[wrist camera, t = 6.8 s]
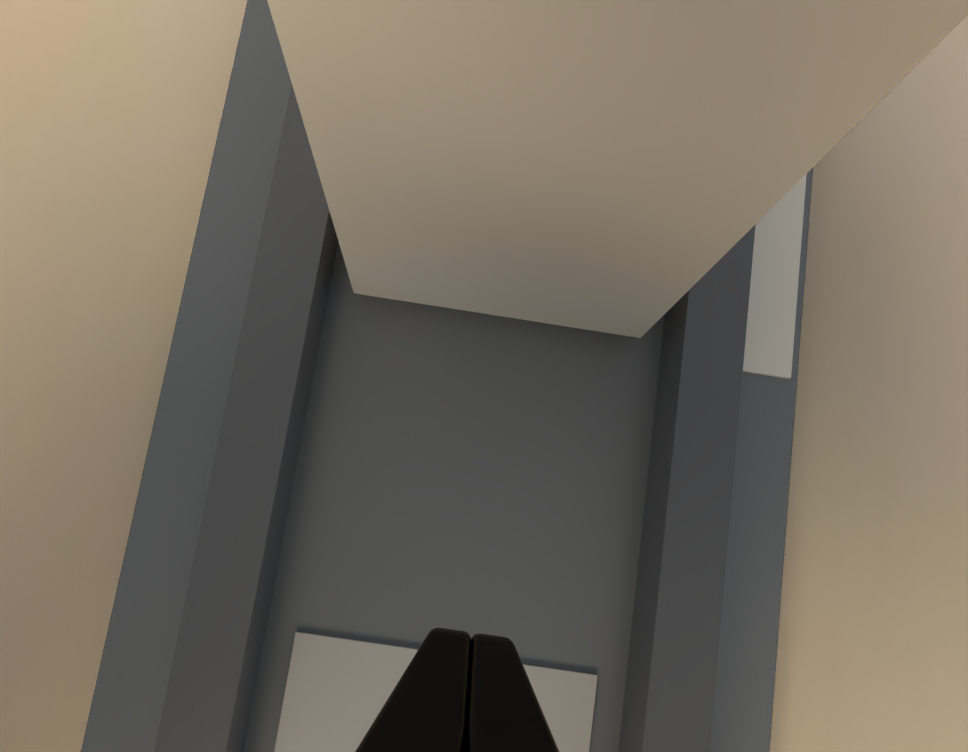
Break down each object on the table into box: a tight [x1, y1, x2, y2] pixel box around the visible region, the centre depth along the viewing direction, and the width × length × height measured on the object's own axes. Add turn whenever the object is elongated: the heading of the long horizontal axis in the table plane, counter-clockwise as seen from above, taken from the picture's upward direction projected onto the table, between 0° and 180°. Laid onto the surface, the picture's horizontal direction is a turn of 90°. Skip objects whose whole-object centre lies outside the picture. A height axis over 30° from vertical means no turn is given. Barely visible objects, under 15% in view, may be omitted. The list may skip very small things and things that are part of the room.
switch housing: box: [81, 0, 813, 752], centre depth 15 cm, size 22×11×2 cm, turn 172°
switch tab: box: [267, 0, 968, 338], centre depth 9 cm, size 3×5×12 cm, turn 82°
